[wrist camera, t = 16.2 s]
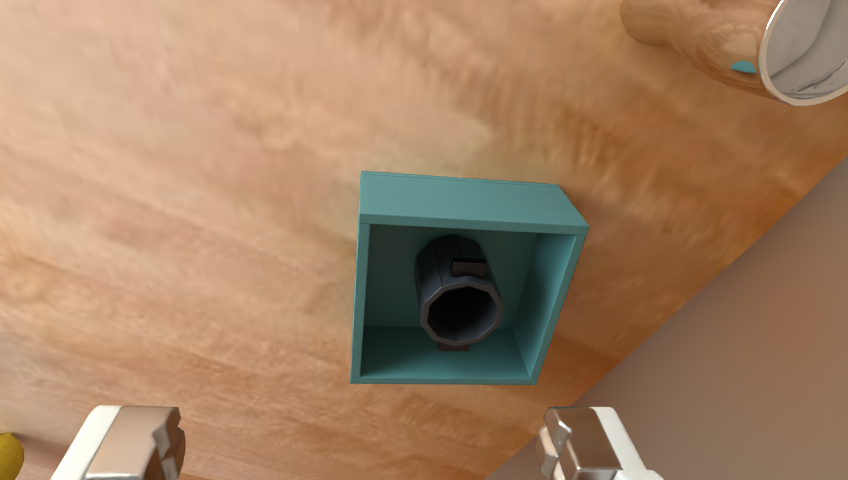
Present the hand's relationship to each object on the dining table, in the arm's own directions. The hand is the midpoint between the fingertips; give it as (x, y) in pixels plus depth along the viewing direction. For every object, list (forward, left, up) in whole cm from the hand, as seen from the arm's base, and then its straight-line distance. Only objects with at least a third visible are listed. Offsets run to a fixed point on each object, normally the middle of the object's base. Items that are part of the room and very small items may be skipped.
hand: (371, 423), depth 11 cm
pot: (+15, +8, -28) cm, 33 cm away
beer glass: (-8, +20, -29) cm, 36 cm away
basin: (+15, +8, -29) cm, 34 cm away
